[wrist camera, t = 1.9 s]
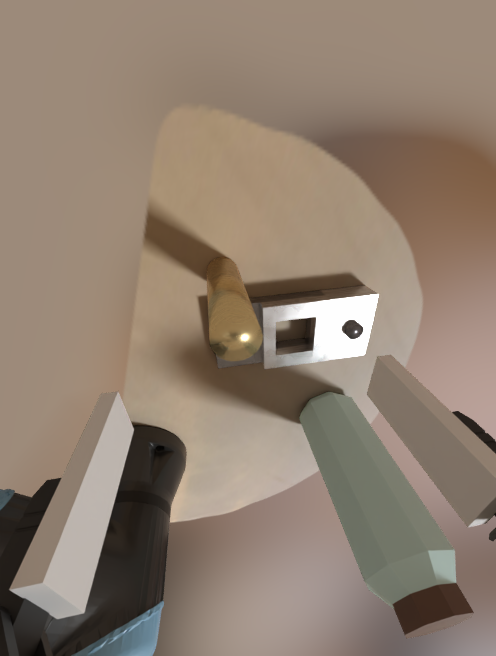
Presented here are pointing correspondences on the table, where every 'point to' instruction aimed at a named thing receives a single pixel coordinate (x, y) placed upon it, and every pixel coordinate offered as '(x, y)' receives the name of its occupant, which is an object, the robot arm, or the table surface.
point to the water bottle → (384, 519)
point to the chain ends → (313, 326)
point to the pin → (230, 313)
